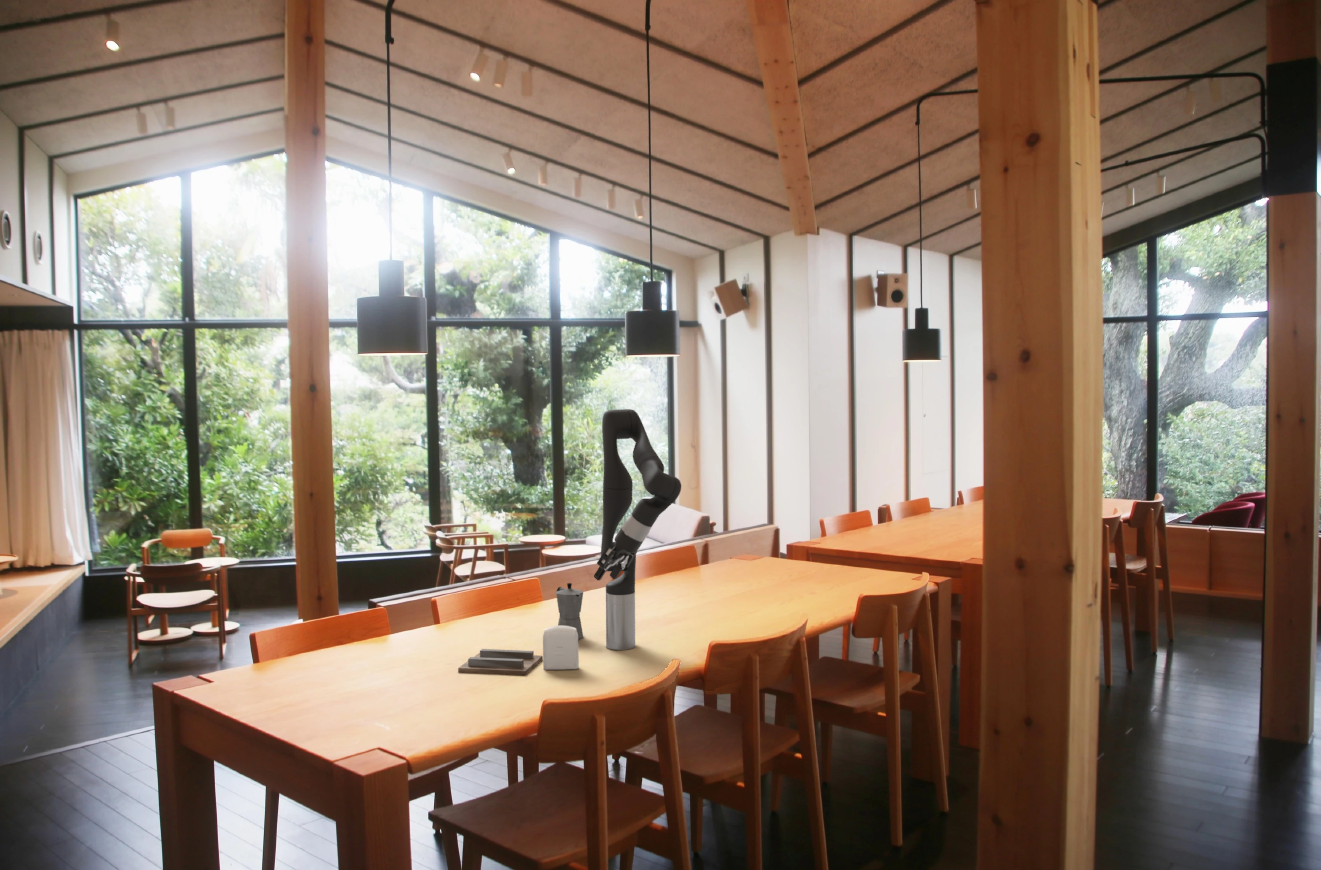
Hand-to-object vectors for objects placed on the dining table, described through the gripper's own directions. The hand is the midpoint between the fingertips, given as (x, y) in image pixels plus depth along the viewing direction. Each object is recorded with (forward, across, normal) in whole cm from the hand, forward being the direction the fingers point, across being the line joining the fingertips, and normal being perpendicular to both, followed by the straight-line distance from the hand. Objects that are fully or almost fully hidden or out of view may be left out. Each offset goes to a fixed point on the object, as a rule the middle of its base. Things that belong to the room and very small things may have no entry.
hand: (604, 578), depth 250 cm
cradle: (+38, +10, -8) cm, 40 cm away
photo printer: (+28, +4, +6) cm, 29 cm away
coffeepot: (+36, -27, -13) cm, 46 cm away
